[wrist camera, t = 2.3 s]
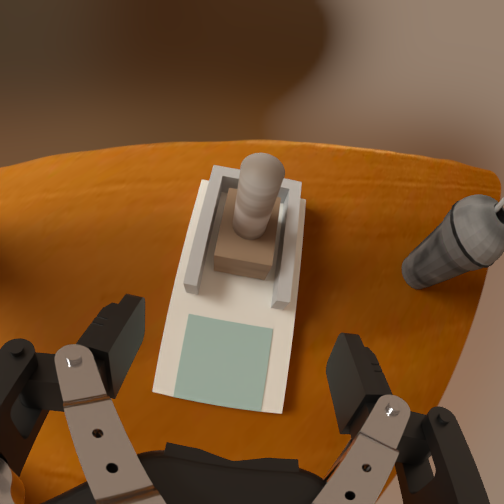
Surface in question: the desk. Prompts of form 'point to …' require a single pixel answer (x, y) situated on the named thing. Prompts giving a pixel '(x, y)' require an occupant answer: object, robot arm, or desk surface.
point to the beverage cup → (458, 243)
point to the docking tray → (232, 310)
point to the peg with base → (251, 219)
